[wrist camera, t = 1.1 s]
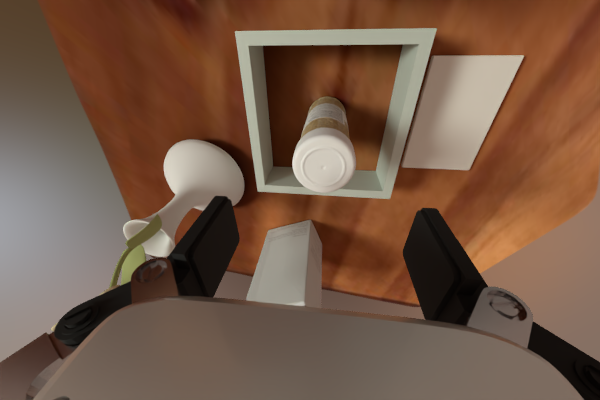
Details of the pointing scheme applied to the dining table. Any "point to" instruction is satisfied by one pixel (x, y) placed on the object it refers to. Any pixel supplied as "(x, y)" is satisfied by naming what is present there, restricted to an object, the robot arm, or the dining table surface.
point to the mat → (457, 109)
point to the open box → (399, 113)
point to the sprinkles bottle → (324, 148)
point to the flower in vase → (179, 201)
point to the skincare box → (289, 267)
